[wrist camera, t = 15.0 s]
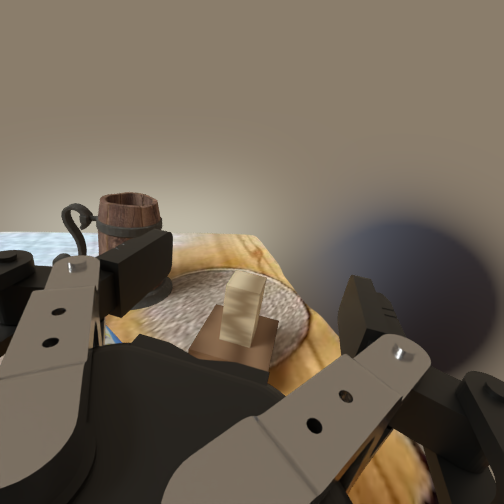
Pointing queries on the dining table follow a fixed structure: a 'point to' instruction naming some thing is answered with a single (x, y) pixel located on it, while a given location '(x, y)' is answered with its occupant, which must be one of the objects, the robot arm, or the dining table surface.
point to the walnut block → (220, 350)
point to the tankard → (119, 229)
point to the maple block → (242, 308)
